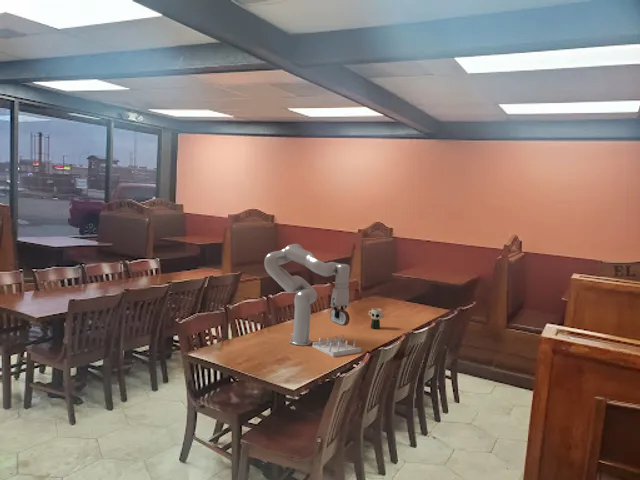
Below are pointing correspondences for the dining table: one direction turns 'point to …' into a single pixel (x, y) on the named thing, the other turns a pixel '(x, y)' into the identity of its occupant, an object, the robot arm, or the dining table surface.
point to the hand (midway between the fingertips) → (338, 317)
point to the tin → (340, 317)
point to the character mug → (376, 317)
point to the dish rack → (336, 347)
